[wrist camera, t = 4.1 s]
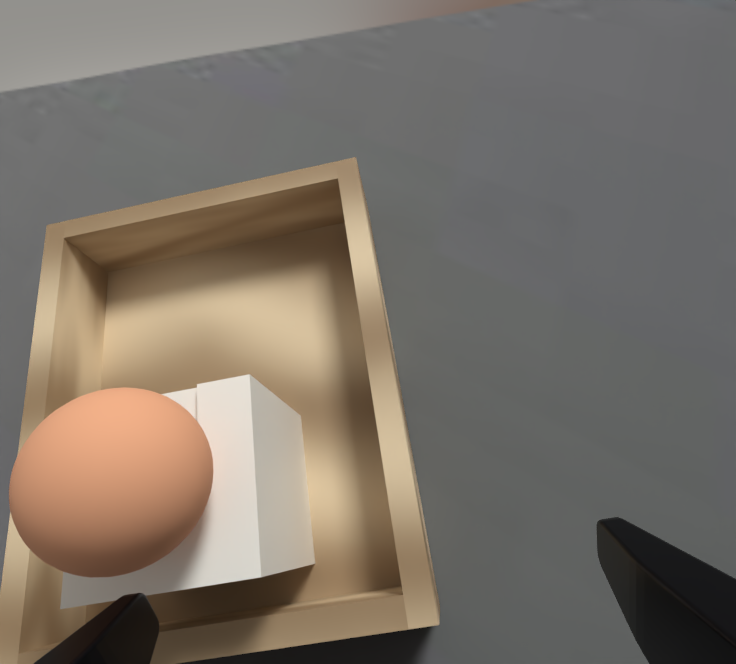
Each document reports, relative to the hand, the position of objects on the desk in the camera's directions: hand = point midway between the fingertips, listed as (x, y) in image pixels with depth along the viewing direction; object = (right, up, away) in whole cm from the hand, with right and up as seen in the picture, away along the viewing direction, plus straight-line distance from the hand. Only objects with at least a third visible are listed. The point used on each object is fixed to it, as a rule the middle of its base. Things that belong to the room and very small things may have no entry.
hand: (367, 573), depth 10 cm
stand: (-4, -1, +8) cm, 9 cm away
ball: (-5, +1, +1) cm, 6 cm away
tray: (-5, +2, +10) cm, 11 cm away
